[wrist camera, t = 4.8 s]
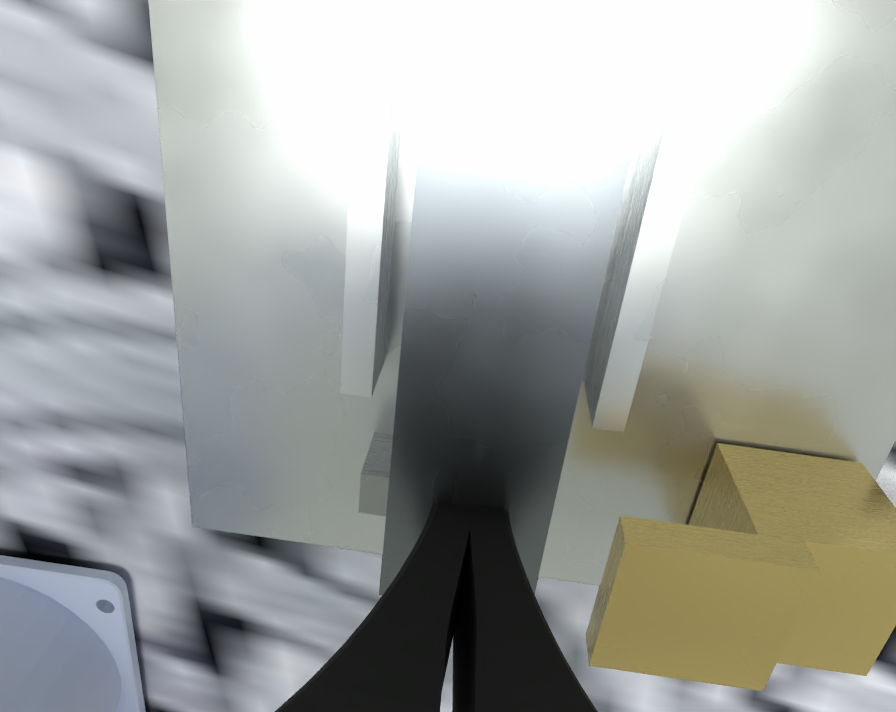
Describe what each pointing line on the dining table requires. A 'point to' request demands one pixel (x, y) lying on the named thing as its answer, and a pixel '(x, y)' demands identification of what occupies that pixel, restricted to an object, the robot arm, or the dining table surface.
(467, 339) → the grey metal flat bar
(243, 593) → the dining table surface
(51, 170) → the dining table surface
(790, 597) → the block
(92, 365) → the dining table surface
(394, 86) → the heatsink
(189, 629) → the dining table surface
